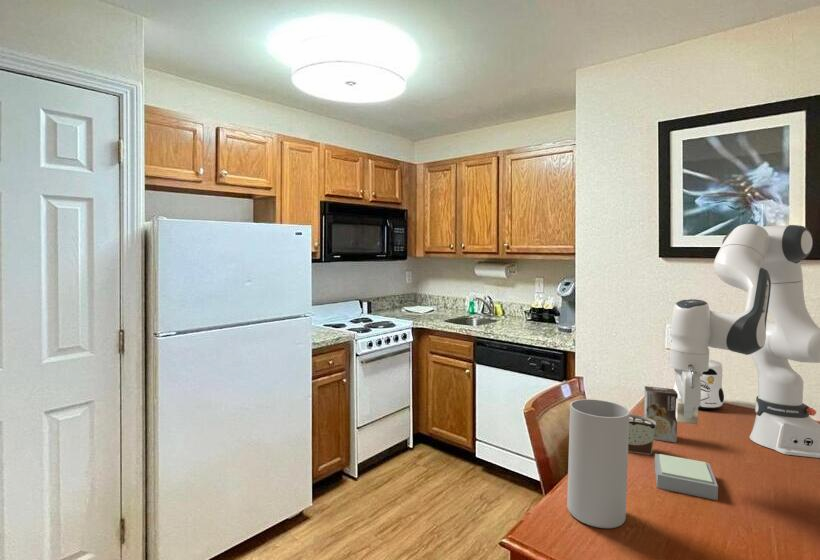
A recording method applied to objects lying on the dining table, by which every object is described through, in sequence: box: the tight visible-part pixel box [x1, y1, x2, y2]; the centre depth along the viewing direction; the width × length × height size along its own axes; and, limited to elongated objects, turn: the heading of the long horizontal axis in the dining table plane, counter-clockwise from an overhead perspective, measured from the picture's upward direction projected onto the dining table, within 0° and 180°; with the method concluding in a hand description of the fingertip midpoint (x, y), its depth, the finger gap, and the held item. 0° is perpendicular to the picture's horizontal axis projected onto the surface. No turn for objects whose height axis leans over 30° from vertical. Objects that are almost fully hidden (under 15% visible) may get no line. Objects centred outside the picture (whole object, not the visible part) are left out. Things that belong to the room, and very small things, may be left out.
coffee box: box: [643, 385, 678, 443], centre depth 148 cm, size 9×6×16 cm
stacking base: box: [654, 453, 719, 501], centre depth 119 cm, size 13×14×4 cm
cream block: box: [676, 398, 699, 426], centre depth 118 cm, size 4×4×5 cm
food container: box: [628, 413, 658, 456], centre depth 139 cm, size 12×6×10 cm, turn 71°
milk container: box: [673, 359, 725, 410], centre depth 181 cm, size 17×17×18 cm
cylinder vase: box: [566, 398, 630, 529], centre depth 103 cm, size 12×12×25 cm
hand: (686, 413), depth 118 cm, fingers closed on cream block, 4 cm apart
